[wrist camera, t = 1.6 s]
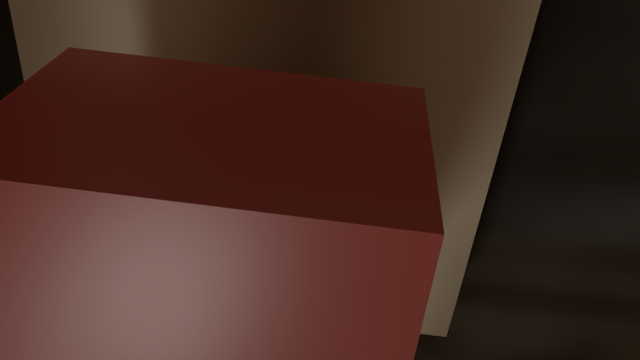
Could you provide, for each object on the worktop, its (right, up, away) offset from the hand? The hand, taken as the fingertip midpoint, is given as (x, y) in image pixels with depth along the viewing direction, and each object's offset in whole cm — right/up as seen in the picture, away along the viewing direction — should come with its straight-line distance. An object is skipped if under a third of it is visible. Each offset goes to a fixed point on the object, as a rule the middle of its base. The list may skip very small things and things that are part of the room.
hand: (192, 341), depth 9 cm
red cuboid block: (0, +2, +3) cm, 3 cm away
